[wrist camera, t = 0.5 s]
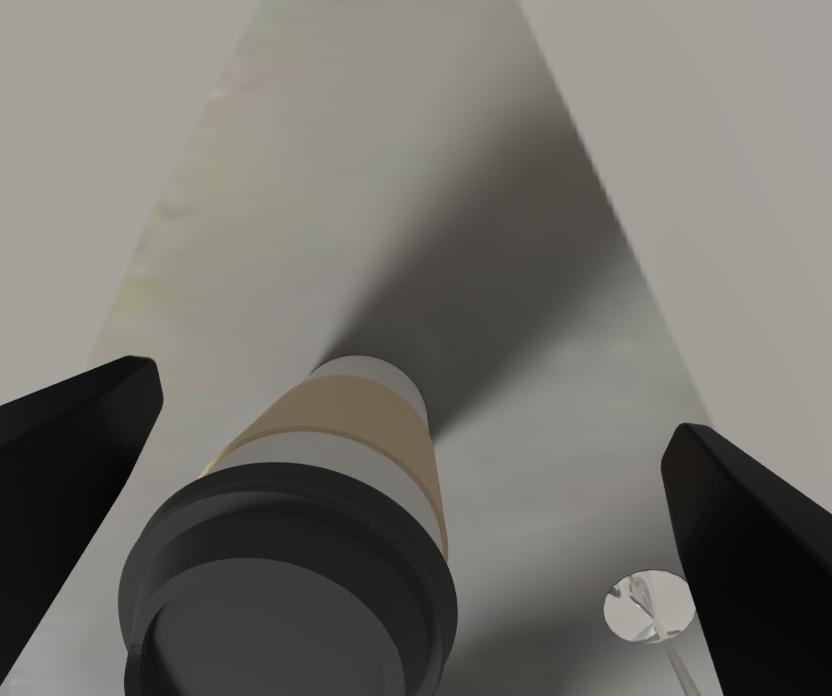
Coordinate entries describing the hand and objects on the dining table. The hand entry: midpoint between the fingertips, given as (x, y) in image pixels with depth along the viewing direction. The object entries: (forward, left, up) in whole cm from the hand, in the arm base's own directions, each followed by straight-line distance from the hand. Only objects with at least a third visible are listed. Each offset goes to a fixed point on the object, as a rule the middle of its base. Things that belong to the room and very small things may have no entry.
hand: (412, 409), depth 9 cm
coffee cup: (-8, -2, -16) cm, 18 cm away
